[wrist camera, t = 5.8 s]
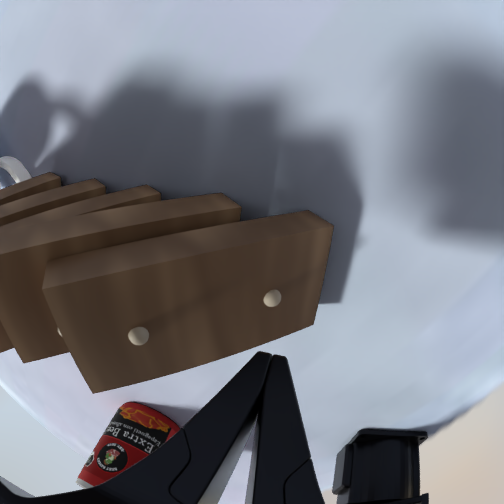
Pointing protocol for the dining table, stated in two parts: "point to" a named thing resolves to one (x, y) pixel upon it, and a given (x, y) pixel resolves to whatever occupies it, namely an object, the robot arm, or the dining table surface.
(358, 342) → the dining table surface
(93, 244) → the tile
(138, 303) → the tile
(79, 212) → the tile
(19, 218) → the tile
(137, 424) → the canned food
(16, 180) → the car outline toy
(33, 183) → the tile
